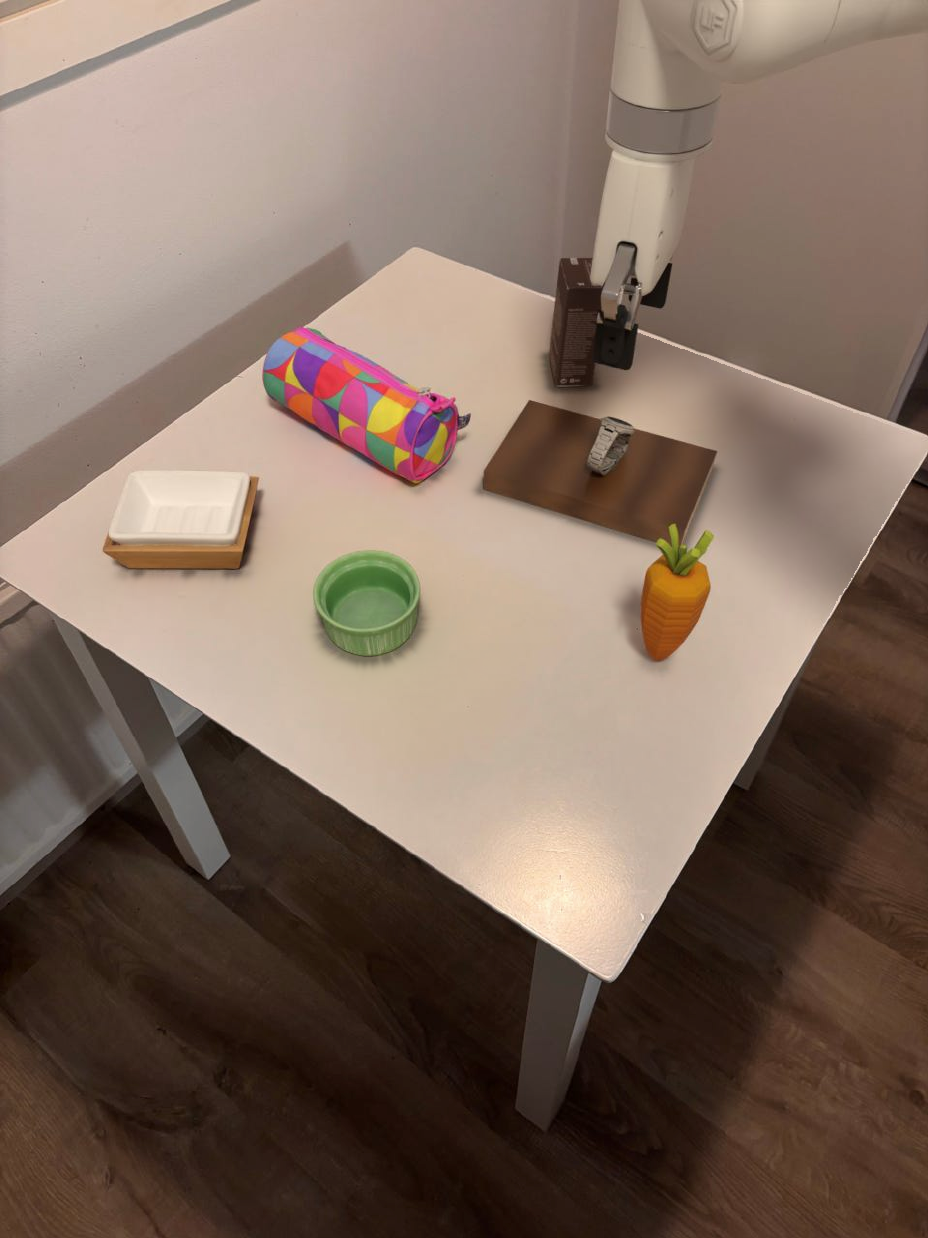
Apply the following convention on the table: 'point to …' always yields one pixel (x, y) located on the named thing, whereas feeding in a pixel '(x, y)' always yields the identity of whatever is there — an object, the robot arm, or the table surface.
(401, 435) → the pencil case
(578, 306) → the box
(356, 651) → the ramekin
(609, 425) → the wristwatch
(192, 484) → the soap dish
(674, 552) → the carrot
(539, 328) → the table surface
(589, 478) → the cutting board
